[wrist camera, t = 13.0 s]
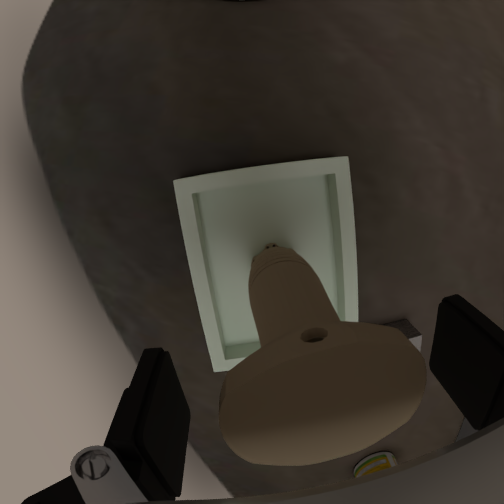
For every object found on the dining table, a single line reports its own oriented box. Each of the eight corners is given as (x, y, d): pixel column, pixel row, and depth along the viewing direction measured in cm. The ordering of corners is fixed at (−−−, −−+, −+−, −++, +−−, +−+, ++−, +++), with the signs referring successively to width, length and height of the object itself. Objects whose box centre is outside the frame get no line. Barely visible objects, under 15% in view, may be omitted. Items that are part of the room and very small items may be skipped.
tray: (180, 178, 22) (172, 180, 19) (336, 156, 22) (348, 156, 19) (215, 354, 25) (214, 372, 23) (348, 332, 25) (358, 348, 23)
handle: (221, 241, 22) (197, 376, 8) (312, 220, 22) (430, 316, 8) (237, 304, 24) (242, 477, 9) (323, 284, 23) (419, 429, 9)
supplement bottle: (344, 474, 31) (363, 535, 22) (371, 448, 30) (397, 511, 21) (375, 476, 32) (396, 531, 23) (401, 451, 31) (429, 508, 22)
